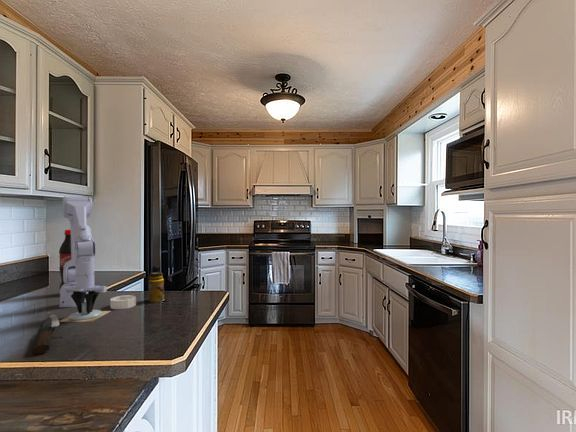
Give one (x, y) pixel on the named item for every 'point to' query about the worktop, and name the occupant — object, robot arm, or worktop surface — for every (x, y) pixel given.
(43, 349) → the kitchen knife
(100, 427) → the worktop surface
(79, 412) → the worktop surface
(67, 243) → the cola bottle
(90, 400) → the worktop surface
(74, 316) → the lid
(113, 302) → the bowl
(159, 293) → the condiment
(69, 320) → the mat
